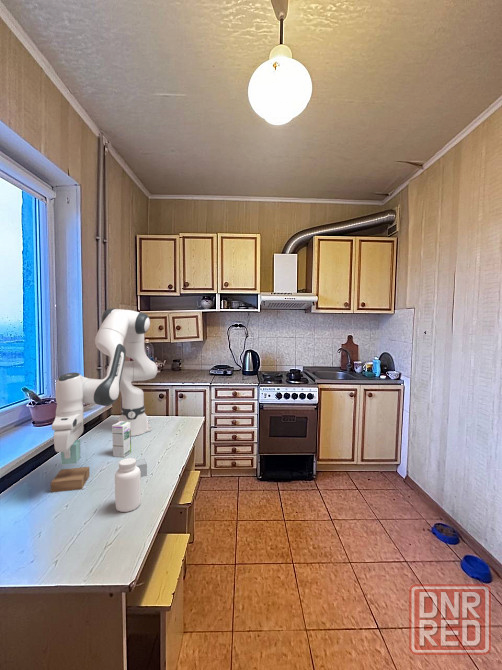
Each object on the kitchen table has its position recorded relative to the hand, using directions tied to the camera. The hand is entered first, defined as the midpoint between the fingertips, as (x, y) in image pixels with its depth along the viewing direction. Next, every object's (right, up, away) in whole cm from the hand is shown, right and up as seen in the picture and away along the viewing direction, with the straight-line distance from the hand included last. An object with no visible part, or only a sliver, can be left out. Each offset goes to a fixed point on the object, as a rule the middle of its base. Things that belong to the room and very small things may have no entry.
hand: (70, 454), depth 116 cm
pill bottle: (+26, -12, -13) cm, 32 cm away
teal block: (0, -3, 0) cm, 3 cm away
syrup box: (+8, -10, +26) cm, 29 cm away
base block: (0, -12, +1) cm, 12 cm away
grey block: (+23, -11, +8) cm, 27 cm away
